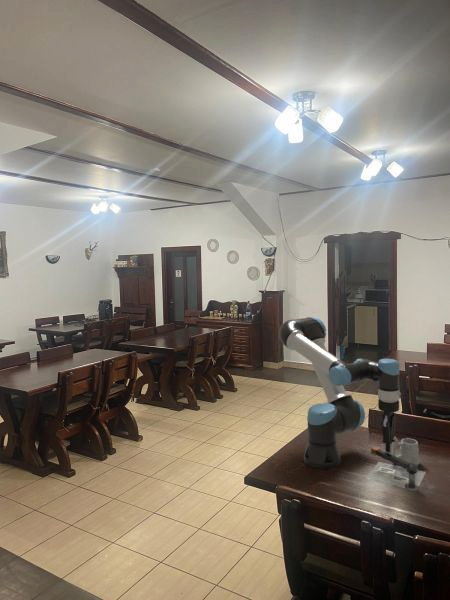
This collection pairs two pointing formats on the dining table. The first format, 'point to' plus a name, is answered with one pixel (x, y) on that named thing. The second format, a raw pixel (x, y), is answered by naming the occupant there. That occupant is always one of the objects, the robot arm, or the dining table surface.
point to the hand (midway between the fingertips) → (388, 458)
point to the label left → (386, 471)
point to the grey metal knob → (412, 483)
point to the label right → (400, 479)
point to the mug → (407, 450)
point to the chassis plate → (399, 472)
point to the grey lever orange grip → (394, 460)
